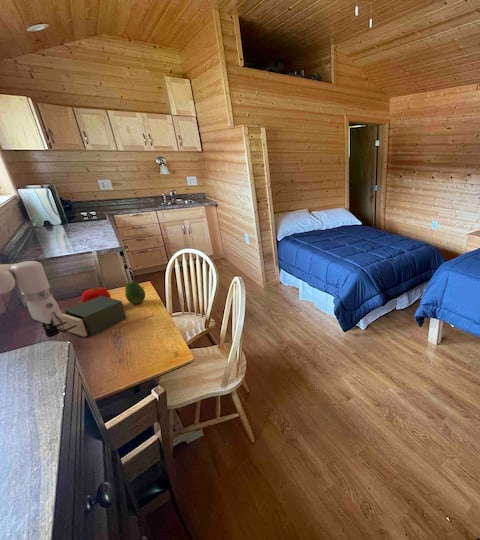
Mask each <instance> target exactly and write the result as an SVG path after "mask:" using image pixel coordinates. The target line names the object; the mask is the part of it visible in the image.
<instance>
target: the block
mask: <svg viewBox="0 0 480 540" xmlns="http://www.w3.org/2000/svg"><path fill="white" fill-rule="evenodd" d="M76 318H79V319H82V320H83V323H84V327H85V329H87V327H86V324H85V321H84V317H81V316H78V317H76Z"/></svg>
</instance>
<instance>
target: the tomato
mask: <svg viewBox="0 0 480 540" xmlns="http://www.w3.org/2000/svg"><path fill="white" fill-rule="evenodd" d="M99 296H105V297H108V298H112V295H111V294H110V292H109V291H108V290H107V289H106V288H105V287H100V286H96V287H92V288H88V289H86V290H84V291H83V292H82V294H81V296H80V297H81V299H80V303H84V302H86V301H89V300H91V299H94V298H97V297H99Z"/></svg>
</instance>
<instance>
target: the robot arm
mask: <svg viewBox="0 0 480 540" xmlns="http://www.w3.org/2000/svg"><path fill="white" fill-rule="evenodd" d="M16 284H17V286H18V290H19V291H20V294H21V297H22V299H23V301H24V302H26V306H27V309H28V312H29V314H30V316H31V318H32V319H33V320H34V321H36V322H39V323H40V325H41V327H42V328H43V331H44V334H45V336H46V337H47V338H52V337H55V336H57V335H60V331H58V328H57V325H59V324H60V322H59V320H61V319H62V318H63V316H62V314H63V313H62V311H61V308H60V306H59V305H58V303H57V301H56V299H55V297H54V296H53V291H52V288H51V286H50V283H49V280H48V278H47V275H46V272H45V269H44V266H43V264H42V263H41V262H39V261H38V260H27V261H25V260H24V261H21V262H17V263H4V264H3V263H2V264H0V295H4V294H7V293H9V292H11V291H12V290H13V289H14V288H15V286H16ZM58 319H59V320H58Z"/></svg>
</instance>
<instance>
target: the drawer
mask: <svg viewBox="0 0 480 540" xmlns="http://www.w3.org/2000/svg"><path fill="white" fill-rule="evenodd" d="M68 314H69V315H66V313H62V316H63V318H62V319H60V320H61V323H59V325H57V328H58V331H59V333H63V334H65V333H67V332H68V333H72V334H74V335H76V336H77V335H78V336H80V337H83V338H85V337H87V336H88V335H87V333H86V332H89V329H88V326H87V323H86V320H85V318H84V321H85V324H86V327H87V329H85V327H84V323H83V320H82V319H79V318H76V317H78V315H74V314H71V313H68ZM61 326H63V327H61ZM89 333H90V332H89Z"/></svg>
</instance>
